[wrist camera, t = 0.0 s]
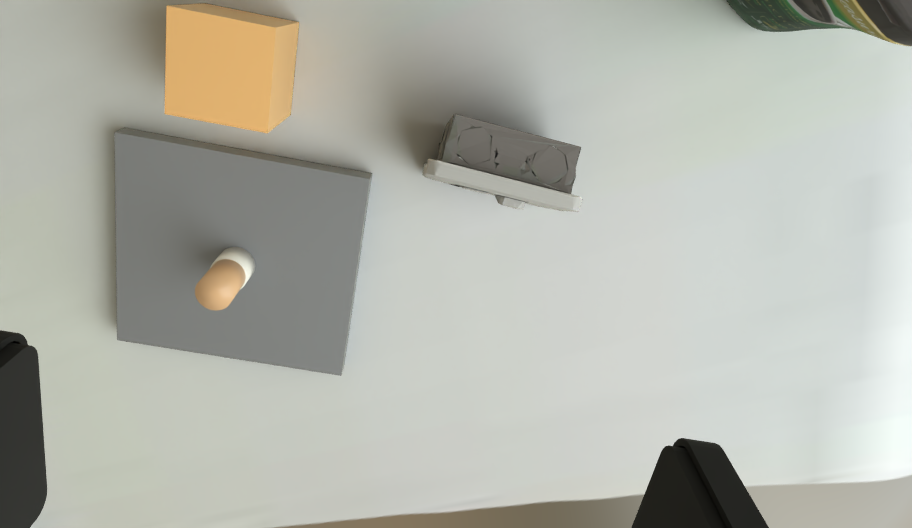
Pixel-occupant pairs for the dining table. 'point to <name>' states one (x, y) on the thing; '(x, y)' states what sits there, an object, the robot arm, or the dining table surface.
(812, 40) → the dining table surface
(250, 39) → the tan cardboard cube
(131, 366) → the dining table surface
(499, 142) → the electrical switch
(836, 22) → the coffee jar
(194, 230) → the plate
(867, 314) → the dining table surface
